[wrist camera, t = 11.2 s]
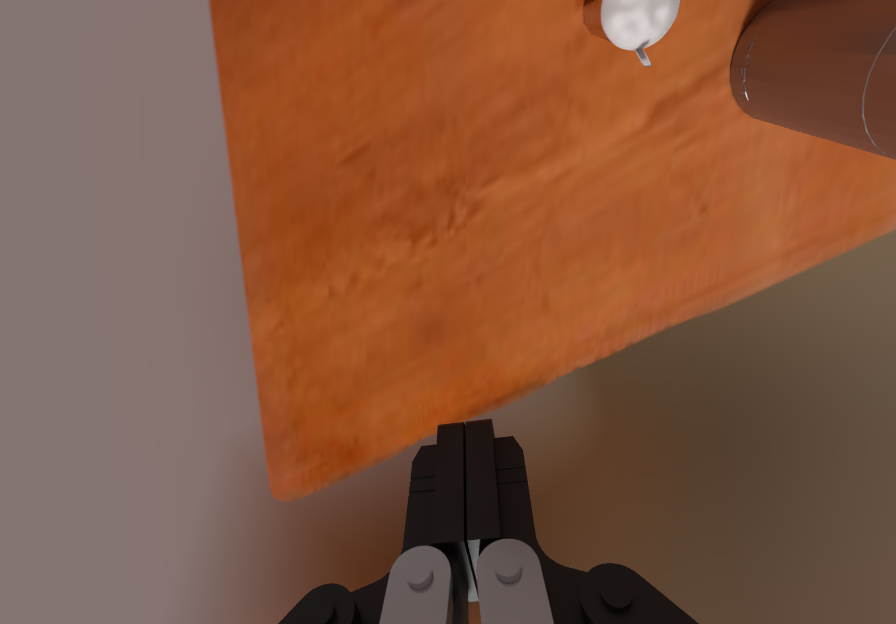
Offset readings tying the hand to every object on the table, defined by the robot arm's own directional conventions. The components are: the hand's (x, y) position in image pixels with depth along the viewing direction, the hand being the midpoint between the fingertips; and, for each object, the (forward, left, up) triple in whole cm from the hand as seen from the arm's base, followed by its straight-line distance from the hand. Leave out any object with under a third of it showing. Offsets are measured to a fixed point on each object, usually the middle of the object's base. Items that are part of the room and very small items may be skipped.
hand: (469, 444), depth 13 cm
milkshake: (-12, -9, -32) cm, 36 cm away
